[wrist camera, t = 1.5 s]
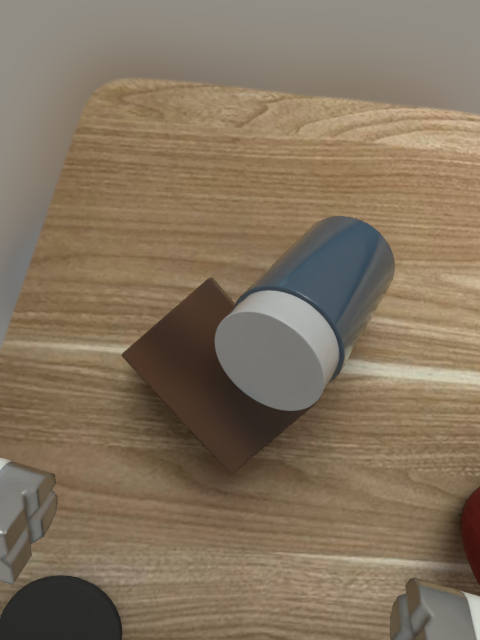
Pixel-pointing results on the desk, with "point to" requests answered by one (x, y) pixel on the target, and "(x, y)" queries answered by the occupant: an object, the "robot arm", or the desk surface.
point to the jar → (306, 314)
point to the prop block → (205, 380)
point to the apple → (472, 532)
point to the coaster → (60, 612)
